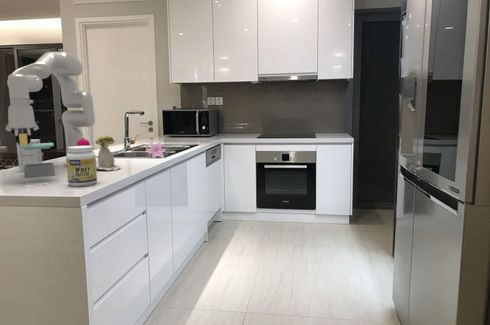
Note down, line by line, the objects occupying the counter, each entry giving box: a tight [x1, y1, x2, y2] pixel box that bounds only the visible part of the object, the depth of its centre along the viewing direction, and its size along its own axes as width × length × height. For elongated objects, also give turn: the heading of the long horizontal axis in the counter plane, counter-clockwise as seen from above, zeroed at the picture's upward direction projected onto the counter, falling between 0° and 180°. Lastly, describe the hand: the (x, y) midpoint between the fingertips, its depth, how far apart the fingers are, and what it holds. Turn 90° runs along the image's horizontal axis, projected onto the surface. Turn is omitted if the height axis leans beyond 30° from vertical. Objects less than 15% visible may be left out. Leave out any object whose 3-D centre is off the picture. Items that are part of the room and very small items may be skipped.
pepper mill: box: [77, 135, 91, 146], centre depth 197 cm, size 7×7×20 cm
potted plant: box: [94, 135, 121, 172], centre depth 216 cm, size 12×13×18 cm
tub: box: [23, 162, 56, 179], centre depth 198 cm, size 13×9×6 cm
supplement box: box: [16, 138, 43, 173], centre depth 211 cm, size 10×9×17 cm
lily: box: [145, 141, 167, 159], centre depth 260 cm, size 12×12×10 cm
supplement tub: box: [65, 145, 98, 187], centre depth 179 cm, size 12×12×17 cm
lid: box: [18, 133, 55, 150], centre depth 182 cm, size 13×9×7 cm
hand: (23, 143), depth 179 cm, fingers closed on lid, 3 cm apart
